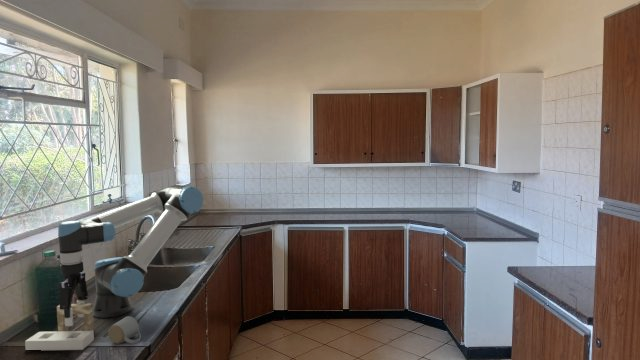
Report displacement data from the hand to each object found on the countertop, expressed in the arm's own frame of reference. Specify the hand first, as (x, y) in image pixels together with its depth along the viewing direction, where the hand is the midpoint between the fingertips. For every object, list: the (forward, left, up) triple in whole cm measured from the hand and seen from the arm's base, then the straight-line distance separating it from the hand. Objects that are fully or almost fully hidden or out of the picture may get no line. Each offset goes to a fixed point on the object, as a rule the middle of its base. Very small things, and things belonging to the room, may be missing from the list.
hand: (75, 321), depth 173 cm
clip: (0, 0, -5) cm, 5 cm away
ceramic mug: (-18, +15, -5) cm, 24 cm away
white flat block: (+4, +10, -5) cm, 12 cm away
